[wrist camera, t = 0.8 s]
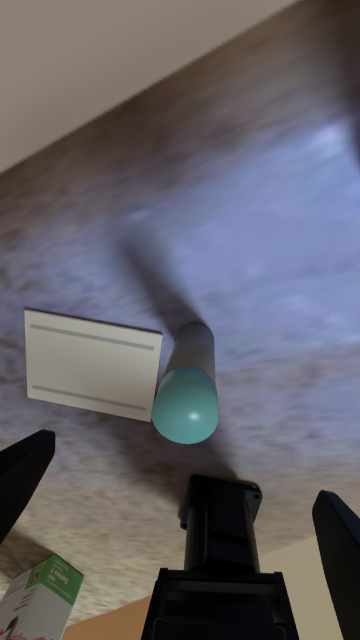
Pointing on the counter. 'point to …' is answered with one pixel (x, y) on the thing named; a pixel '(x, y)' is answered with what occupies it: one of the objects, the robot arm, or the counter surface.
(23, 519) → the counter surface
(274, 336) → the counter surface
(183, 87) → the counter surface
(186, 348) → the marker
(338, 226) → the counter surface
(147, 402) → the paper
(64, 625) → the ink box
